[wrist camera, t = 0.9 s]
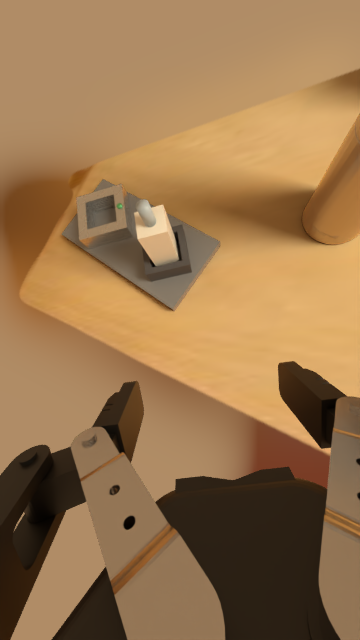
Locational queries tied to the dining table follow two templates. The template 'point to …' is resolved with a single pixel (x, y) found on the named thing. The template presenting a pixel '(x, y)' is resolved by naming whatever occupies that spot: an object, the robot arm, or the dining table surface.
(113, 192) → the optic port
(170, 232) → the plug
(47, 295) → the dining table surface
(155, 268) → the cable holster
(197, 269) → the port board
